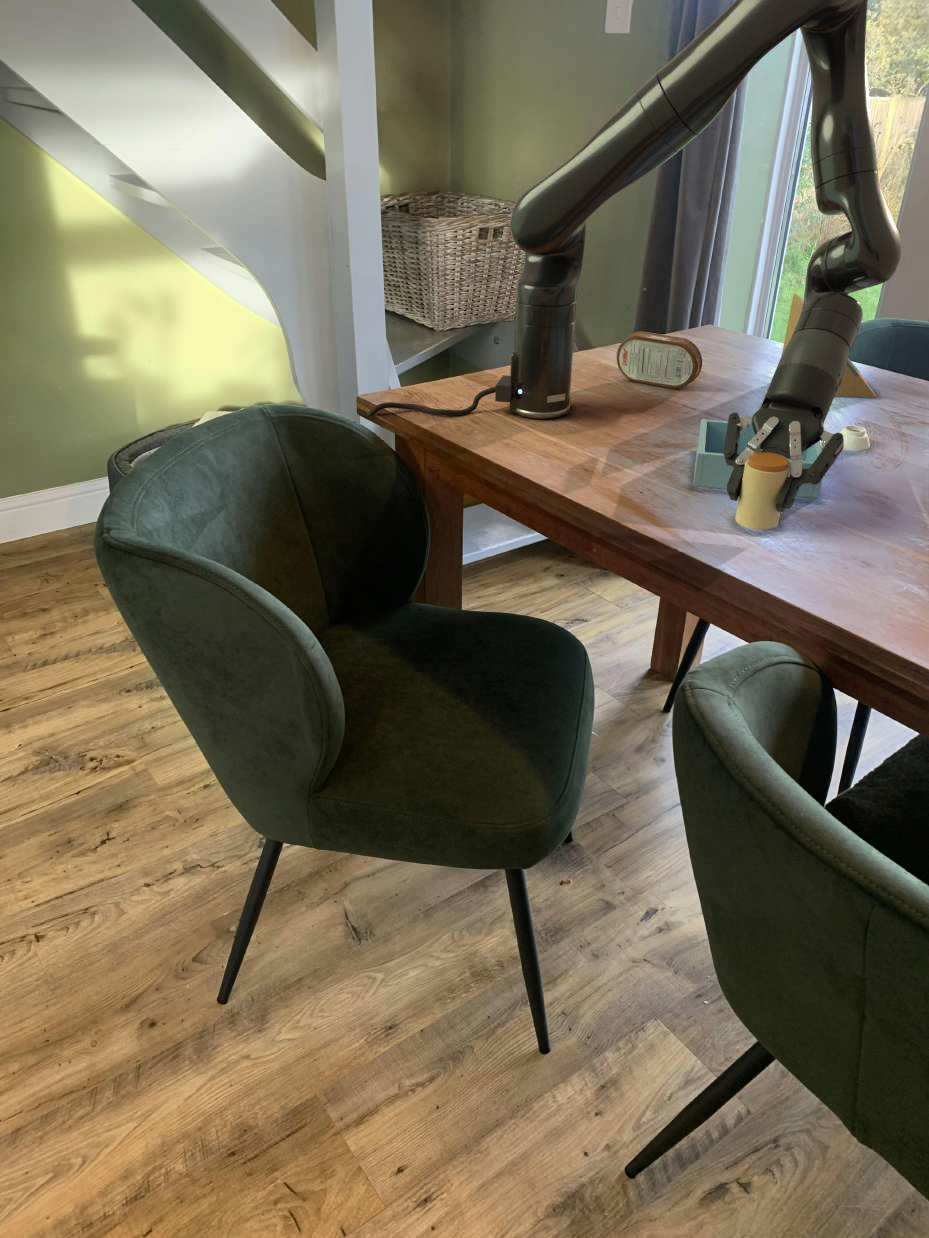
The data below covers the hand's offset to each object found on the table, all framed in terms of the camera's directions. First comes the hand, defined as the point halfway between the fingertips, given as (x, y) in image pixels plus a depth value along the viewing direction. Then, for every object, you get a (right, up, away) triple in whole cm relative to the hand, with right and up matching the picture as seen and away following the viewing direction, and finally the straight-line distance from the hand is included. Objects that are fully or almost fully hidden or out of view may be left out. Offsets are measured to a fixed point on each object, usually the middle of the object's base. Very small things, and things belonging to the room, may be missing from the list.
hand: (756, 503), depth 103 cm
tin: (-1, +28, +51) cm, 58 cm away
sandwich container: (+28, +26, +49) cm, 62 cm away
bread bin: (+5, +6, +16) cm, 18 cm away
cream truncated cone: (+22, +11, +25) cm, 35 cm away
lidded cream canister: (+1, -2, +3) cm, 4 cm away
